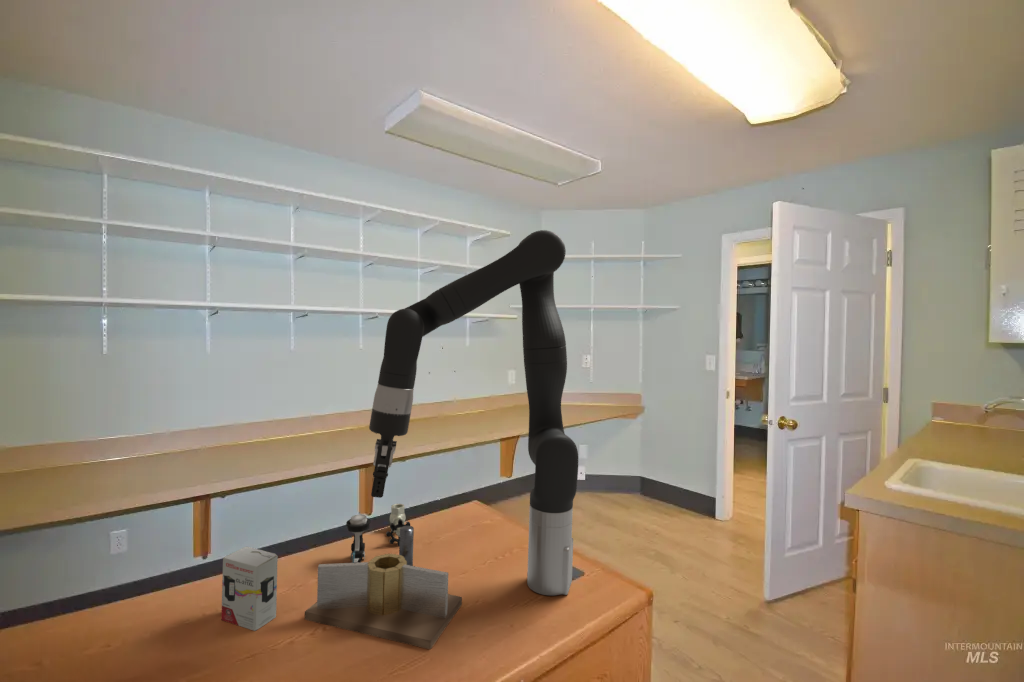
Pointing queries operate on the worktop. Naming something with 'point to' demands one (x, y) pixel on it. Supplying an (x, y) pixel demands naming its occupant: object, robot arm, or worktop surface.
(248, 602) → the ink box
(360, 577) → the hinge knuckles
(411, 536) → the hinge pin
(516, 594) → the worktop surface
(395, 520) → the valve
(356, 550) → the push button
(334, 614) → the board
